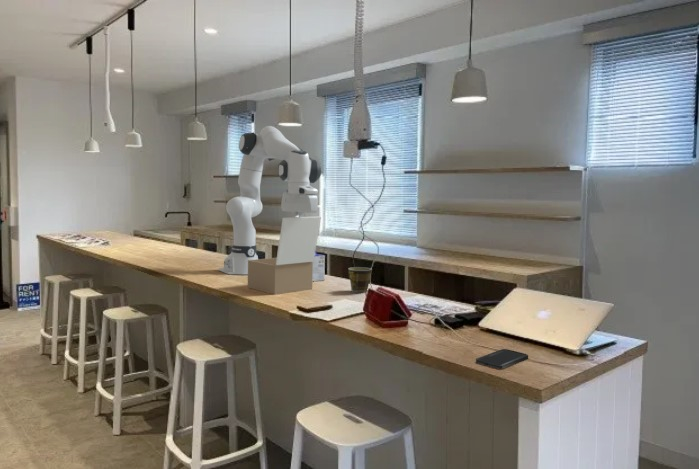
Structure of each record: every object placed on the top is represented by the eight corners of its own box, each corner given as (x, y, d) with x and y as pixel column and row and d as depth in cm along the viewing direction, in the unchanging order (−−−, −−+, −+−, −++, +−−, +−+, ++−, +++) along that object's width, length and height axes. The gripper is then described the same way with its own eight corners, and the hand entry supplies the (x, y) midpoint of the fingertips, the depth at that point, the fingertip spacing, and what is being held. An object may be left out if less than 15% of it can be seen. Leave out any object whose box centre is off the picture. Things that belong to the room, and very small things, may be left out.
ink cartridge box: (319, 278, 265) (319, 249, 264) (325, 280, 260) (325, 250, 259) (301, 280, 259) (302, 250, 258) (307, 282, 255) (308, 251, 253)
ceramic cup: (356, 288, 241) (356, 266, 240) (375, 291, 235) (376, 268, 234) (339, 292, 230) (339, 269, 229) (358, 296, 224) (359, 272, 223)
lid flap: (282, 217, 217) (283, 218, 217) (319, 216, 231) (321, 217, 230) (275, 264, 222) (276, 265, 222) (312, 260, 236) (313, 261, 235)
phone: (529, 354, 146) (501, 366, 136) (529, 359, 146) (500, 371, 136) (503, 348, 152) (473, 359, 141) (503, 352, 152) (473, 363, 141)
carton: (247, 287, 238) (247, 260, 237) (284, 282, 251) (284, 257, 250) (274, 294, 223) (275, 265, 222) (312, 289, 237) (312, 261, 236)
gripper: (277, 189, 230) (277, 221, 231) (308, 190, 215) (308, 224, 216) (289, 189, 234) (289, 221, 235) (320, 190, 220) (320, 224, 221)
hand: (298, 223), depth 226 cm, fingers closed
